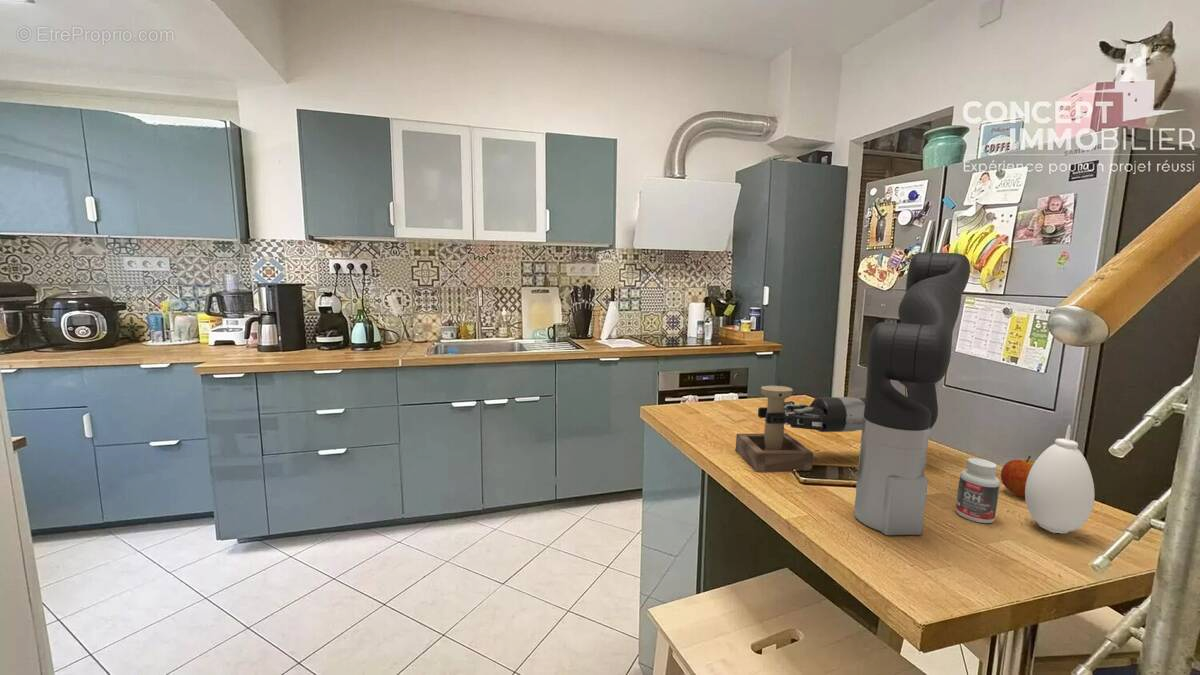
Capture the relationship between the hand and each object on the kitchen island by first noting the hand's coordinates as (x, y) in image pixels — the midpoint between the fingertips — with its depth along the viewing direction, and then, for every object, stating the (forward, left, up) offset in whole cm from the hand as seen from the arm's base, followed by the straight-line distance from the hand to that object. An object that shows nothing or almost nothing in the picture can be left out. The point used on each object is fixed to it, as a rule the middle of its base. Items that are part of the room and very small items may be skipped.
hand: (762, 415), depth 103 cm
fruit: (-18, -44, -10) cm, 48 cm away
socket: (0, -3, -10) cm, 11 cm away
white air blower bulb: (-30, -37, -10) cm, 49 cm away
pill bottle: (-25, -28, -10) cm, 39 cm away
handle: (0, -3, -9) cm, 10 cm away
